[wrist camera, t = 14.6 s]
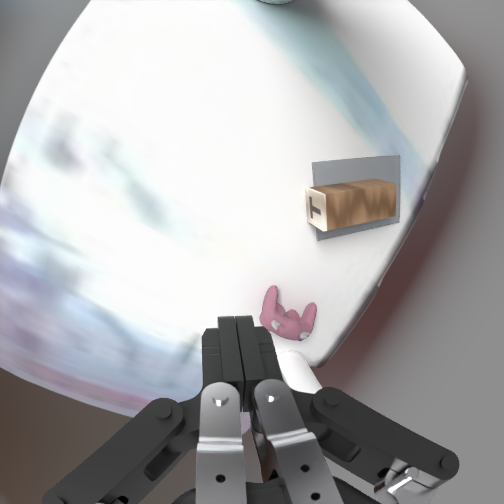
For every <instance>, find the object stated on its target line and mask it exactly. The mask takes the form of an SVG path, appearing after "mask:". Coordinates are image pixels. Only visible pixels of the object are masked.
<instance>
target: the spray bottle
mask: <svg viewBox="0 0 504 504" xmlns="http://www.w3.org/2000/svg"><path fill="white" fill-rule="evenodd" d="M277 358H278V362H279V366H280V369H281V373H282V376H283V379H284V381H285V383H286V384H287V385H288V386H289V387H290V388H292V389H294V390H296V391H299V392H305V393H313V394H315V393H316V392H317V391H318V390H320V389H322V386H321V385H320V383H319V382H318V380H317V378H316V377H315V375H314V374H313V372H312V370H311V369H310V367H309V365H308V364H307V362H306V360H305V359H304V357H303V356H302V355H301V354H300V353H299V352H296V351H288V352H284V353H282V354H280V355H279V356H277Z"/></svg>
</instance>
